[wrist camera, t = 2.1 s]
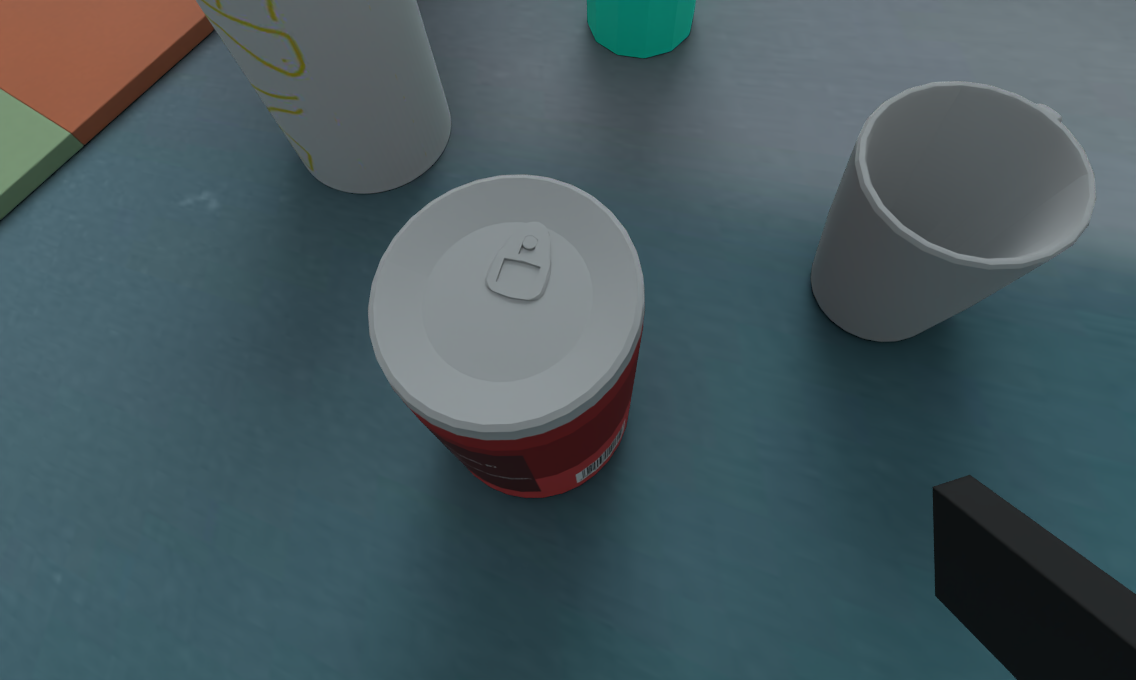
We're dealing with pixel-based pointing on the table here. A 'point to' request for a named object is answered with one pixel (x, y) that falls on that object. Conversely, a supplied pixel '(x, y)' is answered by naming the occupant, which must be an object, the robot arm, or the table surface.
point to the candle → (640, 25)
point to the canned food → (513, 329)
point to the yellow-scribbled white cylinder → (343, 84)
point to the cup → (947, 207)
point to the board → (78, 75)
